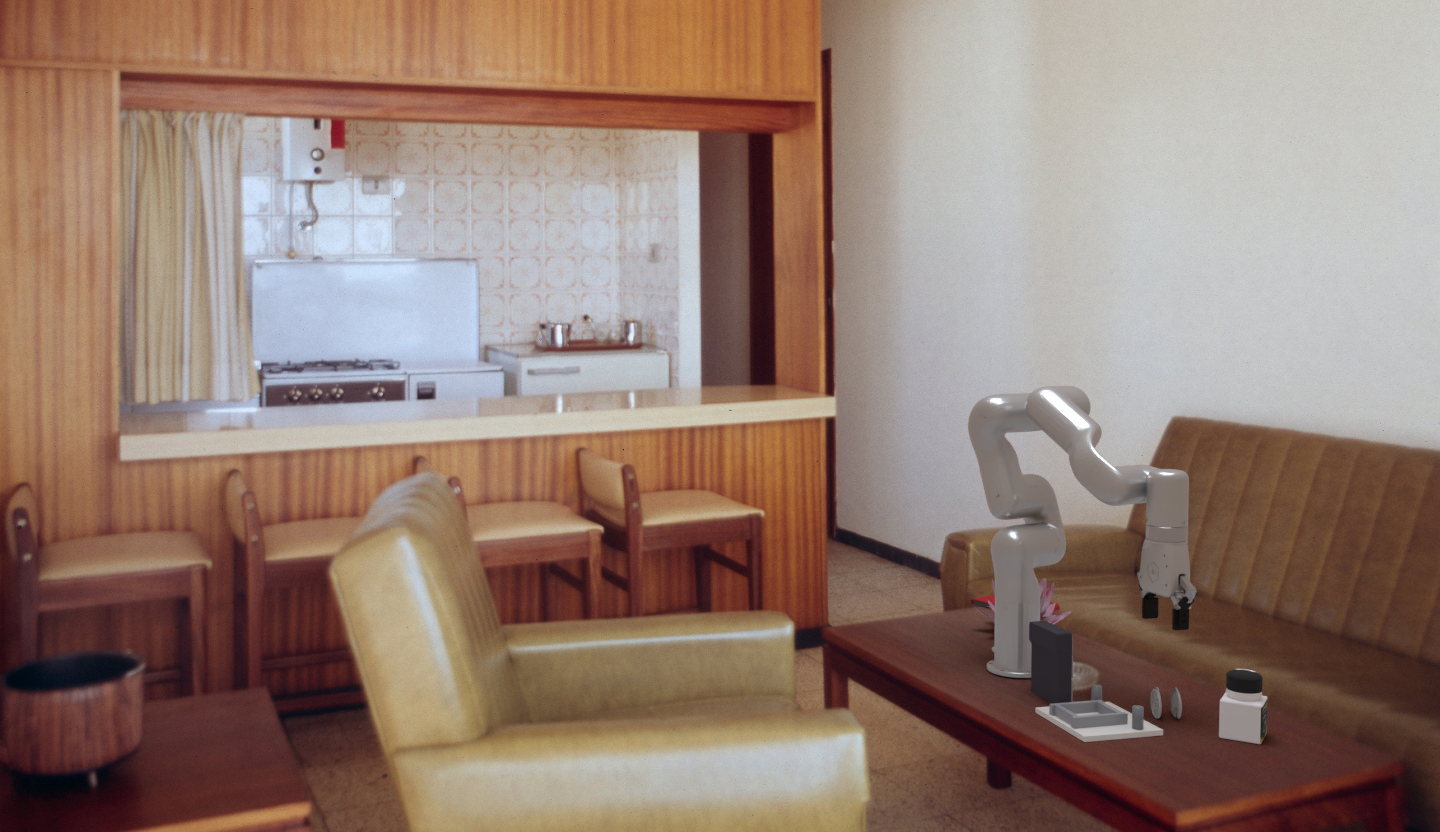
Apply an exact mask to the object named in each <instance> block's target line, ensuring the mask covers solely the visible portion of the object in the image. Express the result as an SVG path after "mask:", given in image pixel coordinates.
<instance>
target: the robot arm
mask: <svg viewBox="0 0 1440 832" xmlns="http://www.w3.org/2000/svg"><path fill="white" fill-rule="evenodd" d="M1091 408H1092V407H1091V402H1090V399H1089V397H1088V394H1086V393H1085V392H1084V390H1082V389H1080V387H1076V386H1074V385H1048V386H1047V385H1046V386H1041V387H1039V388H1036V389H1034V390H1033V391H1032V392H1027V393H1025V392H1021V393H995V394H991V395H987V396H984V397H982V398H981V399H980V400H978V401H977V402H976V403H975V404H974V406H973V407H972V409H971V411H970V413H969V417H968V422H967V429H968V431H967V432H968V435H969V439H970V443H971V446H972V448H973V451H974V454H975V456H976V459H977V462H978V463H977V464H978V468H979V473H980V477H981V481H982V486H983V487H982V488H983V491H984V495H985V499H986V503H987V507H988V509H989V513H990V514H991V515H992V516H993V517H994V518H996V519H998V520H1002V521H1010V520H1019V519H1023V521H1024V523H1022V524H1016V525H1009V526H1006V527H1003V528H1001V529H999V531H997V532H996V533H995V534H994V535H993V537H992V539H991V542H990V556H991V562H992V566H993V567H992V568H993V575H994V584H995V613H994V617H995V623H994V639H993V641H994V642H993V643H994V645H993V646H992V647H991V651H992V652H993V653H994V654H993V657H994V658H993V659H992V660H989V661H988V662H987V663H986V670H988V672H990V673H991V674H994V675H997V676H1001V677H1006V678H1015V679H1031V651H1032V644H1031V642H1030V640H1029V623H1030V622H1034V621H1040V586H1039V583H1040V582H1039V580H1038V578H1037V576H1036V574H1035V571H1034V569H1035V568H1041V567H1047V566H1052V565H1055V564H1058V563H1059V562H1060V561H1062V559H1063V557H1064V556H1065V555H1066V551H1067V539H1066V533H1065V528H1064V526H1063V519H1062V517H1061V512H1060V509H1059V504H1058V499H1057V495H1056V493H1055V490H1054V488H1053V486H1052V484H1051V483H1050V482H1049V481H1048V480H1047V479H1046V478H1045V477H1044V476H1042V475H1039V474H1033V473H1025V474H1023V473H1022V469H1021V466H1020V463H1019V458H1018V455H1017V451H1016V450H1015V448H1014V446H1013V445H1012V444H1011V442H1010V441H1009V440H1008V439H1007V437H1006V434H1007V433H1008V434H1009V433H1025V432H1026V433H1027V432H1038V431H1042V432H1044V433H1045V434H1046V435H1047V437H1049V438H1050V439H1051V440H1052V441H1053V442H1055V444H1056V445H1058V447H1060V449H1062V450H1063V451H1064V452H1065V453H1066V454H1067V455H1068V461H1069V462H1068V463H1069V465H1070V468H1071V471H1072V474H1073V475H1074V477H1075V479H1076V481H1078V483H1079V484H1080V485H1081V486H1083V488H1084V489H1085V490H1087V491H1088V493H1090V494H1091V495H1092V496H1093V497H1094V498H1096V500H1098V501H1100V502H1101V503H1103V504H1105V505H1108V506H1111V507H1117V506H1119V507H1121V506H1127V505H1138V504H1145V503H1146V505H1145V510H1146V511H1145V539H1144V541H1143V545H1142V550H1141V557H1140V566H1139V571H1137V573H1136V575H1137V580H1138V587H1139V589H1140V597H1141V598H1142V599H1141V600H1142V601H1141V604H1142V605H1141V606H1142V607H1141V618H1142V619H1145V620H1149V619H1158V618H1159V599H1160V598H1159V597H1158V596H1160V597H1163V598H1170V600H1171V602H1172V604H1173V607H1174V608H1172V609H1171V611H1172V612H1171V613H1172V615H1171V617H1172V618H1171V629H1172V630H1173V631H1188V630H1189V628H1190V610H1191V609H1192V605H1193V604H1194V602H1195V597H1196V594H1197V587H1195V586H1194V585H1193V583H1192V582H1191V566H1190V565H1191V564H1190V551H1189V547H1188V546H1189V545H1188V544H1189V540H1188V539H1189V508H1190V507H1189V505H1190V502H1189V500H1190V498H1189V497H1190V494H1189V493H1190V478H1189V475H1188V473H1187V472H1186V471H1185V470H1181V469H1173V468H1159V467H1155V466H1151V465H1149V464H1131V465H1130V464H1128V465H1127V464H1126V465H1119V466H1114V465H1113V464H1111V463H1110V462H1109V461H1108V460H1107V459H1106V458H1105V457H1103V456H1102V455H1101V454H1100V453H1099V451H1097V449H1096V447H1097V445H1098V444H1099V442H1100V440H1101V438H1102V431H1103V430H1102V427H1101V426H1100V425H1099V423H1098V422H1097V421H1095V420H1094V419H1093V418H1092V417H1091V416H1090V414H1091Z"/></svg>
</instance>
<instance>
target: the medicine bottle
mask: <svg viewBox="0 0 1440 832" xmlns="http://www.w3.org/2000/svg"><path fill="white" fill-rule="evenodd" d="M1225 675H1226V676H1225V678H1226V681H1225V682H1226V683H1225V692H1224V694H1222V697H1221V698H1220V700H1219V713H1218V715H1219V718H1218V719H1219V720H1218V723H1219V724H1218V738H1220V739H1223V740H1224V739H1225V740H1231V741H1237V742H1242V743H1249V744H1250V743H1251V744H1257V745H1261V744H1262V743H1263V741H1264V739H1265V737H1266V735H1267V732H1268V702H1269V701H1268V698H1269V697H1268V696H1266V695H1263V675H1261V673H1259V672H1258V671H1255V670H1251V669H1246V668H1234V669H1231V670H1228V671H1227V672H1226V674H1225Z"/></svg>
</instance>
